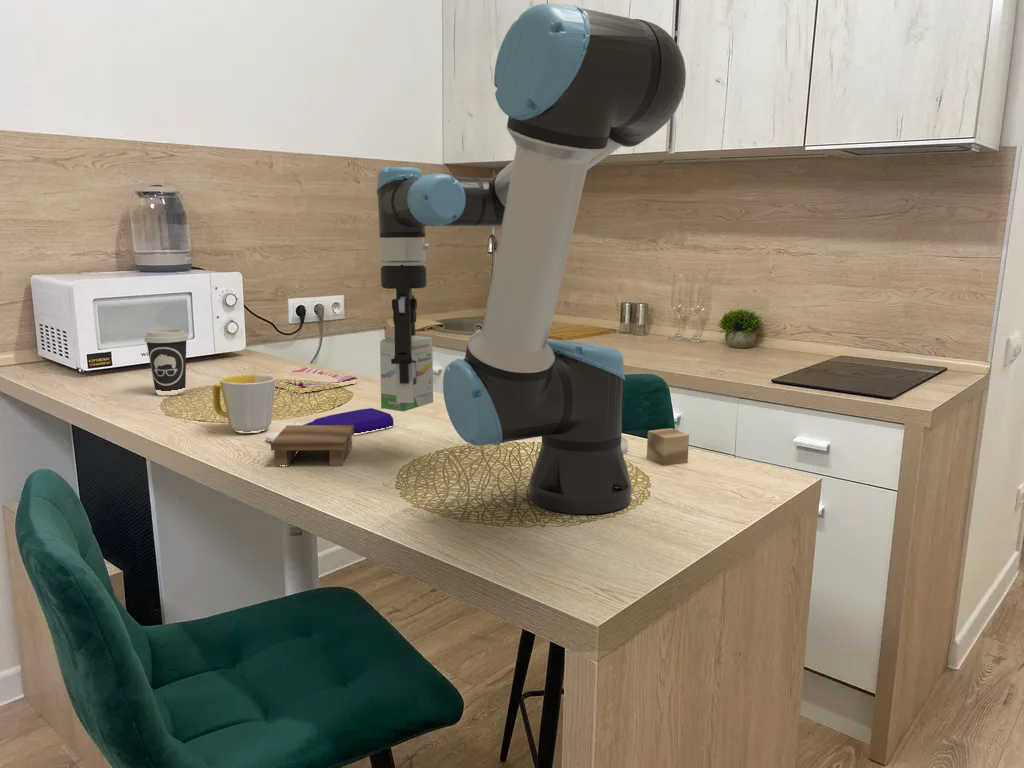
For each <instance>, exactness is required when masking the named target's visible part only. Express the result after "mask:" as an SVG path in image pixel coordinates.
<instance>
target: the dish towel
mask: <svg viewBox="0 0 1024 768" xmlns="http://www.w3.org/2000/svg"><path fill="white" fill-rule="evenodd" d="M284 372H285V373H288V372H293V373H294V372H304V373H305V372H306V373H313V374H320V375H325V376H330V377H333V378H336V379H337V380H338V381H337V382H328V383H325V384H331V383H340V382H345V381H351V380H354V379H356V380H357V381H358V377H356V376H355V375H342V374H341V375H340V374H337V373H332V372H324V371H322V370H319V369H316V368H312V367H301V368H299V369H294V370H288V371H284ZM277 382H282V383H289V384H292V385H295V386H297V387H301V388H310V387H314V386H318V385H323V383H310V382H304V381H302V382H300V383H298V382H291V381H289V382H283V381H277Z"/></svg>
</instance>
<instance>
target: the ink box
mask: <svg viewBox="0 0 1024 768" xmlns="http://www.w3.org/2000/svg"><path fill="white" fill-rule="evenodd" d="M394 356H395V336H394V337H389V338H382V339H381V340H380V341H379V362H380V363H379V364H380V365H379V366H380V409H381V410H382V409H384V410H390V411H396V412H397V411H398V412H406V411H409V410H412V409H416V408H419V407H420V408H421V407H423V406H427V405H429V404H433V403H434V373H433V372H434V369H433V365H434V364H433V358H434V357H433V337H429V336H421V335H416V336H411V358H412V362H411V363H413V390H414V403H397V388H396V364H391V359H394Z"/></svg>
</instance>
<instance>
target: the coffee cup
mask: <svg viewBox="0 0 1024 768" xmlns="http://www.w3.org/2000/svg"><path fill="white" fill-rule="evenodd" d="M188 340H189V336H188V334H187V333H185V330H184V329H180V328H179V329H178V328H177V329H175V328H166V329H165V328H164V329H153V330H147V332H146V336H144V339H143V342H145V343H146V346H147V352H148V358H149V363H150V368H151V374H152V380H153V385H154V390H155V389H156V390H161V391H171V390H178V389H182V388H185V387H186V384H187V383H186V379H187V378H186V375H187V373H186V372H187V341H188Z"/></svg>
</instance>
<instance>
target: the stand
mask: <svg viewBox="0 0 1024 768" xmlns="http://www.w3.org/2000/svg"><path fill="white" fill-rule="evenodd" d="M280 432H281V433H280V434H279V435H278V436H277V437H276V438H275V439H274V440H273V442H272V443H271V442H270V451H273V453H274V455H273V456H274V467H275V466H280V465H281V466H282V465H285V466H286V465H288V464H289V462H290V461H291V460H292V461H293V459H294V458H295V457H294V455H295V454H296V452H297V451H298V450H299V451H329V454H328V455H329V467H342V466H343V464H344V463H345V461H344V460H346V459H345V458H347V457H348V455H349V453H350V451H349V449H350V447H351V445H352V446H353V442H352V441H353V439H352V437H353V436H352V435H353V433H354V425H304V424H303V425H301V424H298V425H297V424H296V425H286V426H285V427H284V428H283V429H282V430H281V431H280ZM351 448H352V447H351ZM350 450H351V449H350ZM299 451H298V452H299ZM348 452H349V453H348ZM347 454H348V455H347ZM296 455H297V454H296ZM296 455H295V456H296ZM346 456H347V457H346ZM293 457H294V458H293ZM292 458H293V459H292ZM292 461H291V462H292ZM291 462H290V463H291ZM343 462H344V463H343ZM289 465H290V464H289ZM289 465H288V466H289ZM331 465H333V466H331ZM339 465H340V466H339Z"/></svg>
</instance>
